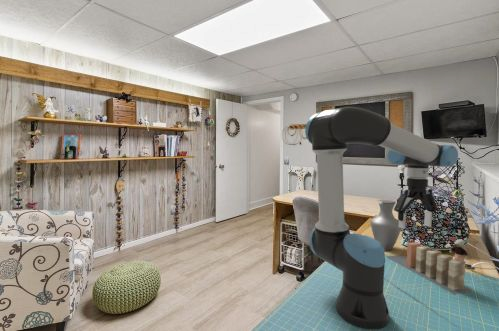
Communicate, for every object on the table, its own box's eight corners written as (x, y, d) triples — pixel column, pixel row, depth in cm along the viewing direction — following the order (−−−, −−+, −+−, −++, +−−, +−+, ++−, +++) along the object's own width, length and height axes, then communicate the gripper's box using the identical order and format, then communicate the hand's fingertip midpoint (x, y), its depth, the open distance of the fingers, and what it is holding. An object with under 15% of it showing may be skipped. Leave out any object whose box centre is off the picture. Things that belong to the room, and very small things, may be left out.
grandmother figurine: (471, 270, 108) (473, 241, 107) (466, 272, 106) (468, 242, 106) (450, 263, 115) (452, 235, 114) (446, 264, 113) (447, 237, 112)
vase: (366, 248, 132) (367, 201, 130) (373, 241, 143) (375, 197, 141) (397, 256, 122) (399, 205, 121) (403, 247, 133) (405, 200, 132)
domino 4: (441, 283, 95) (442, 257, 95) (436, 281, 97) (437, 255, 97) (451, 282, 96) (452, 256, 96) (446, 279, 98) (447, 254, 98)
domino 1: (410, 267, 108) (411, 244, 108) (406, 265, 110) (407, 243, 110) (419, 266, 109) (420, 243, 109) (415, 264, 111) (416, 242, 111)
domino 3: (430, 278, 100) (431, 253, 99) (425, 275, 101) (426, 251, 101) (440, 276, 101) (441, 252, 100) (435, 274, 103) (436, 250, 102)
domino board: (454, 296, 88) (454, 294, 88) (385, 258, 120) (385, 256, 119) (474, 293, 91) (474, 290, 91) (401, 256, 122) (401, 254, 122)
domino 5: (453, 290, 91) (454, 263, 90) (447, 287, 93) (449, 260, 92) (463, 288, 92) (465, 261, 91) (458, 285, 94) (459, 259, 93)
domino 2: (419, 272, 104) (420, 248, 103) (415, 270, 106) (416, 247, 105) (429, 271, 105) (430, 247, 104) (425, 269, 107) (426, 246, 106)
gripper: (400, 179, 101) (397, 231, 102) (449, 178, 107) (446, 227, 108) (385, 177, 108) (383, 226, 109) (432, 176, 114) (430, 222, 115)
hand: (414, 227), depth 109 cm, fingers open, 13 cm apart
